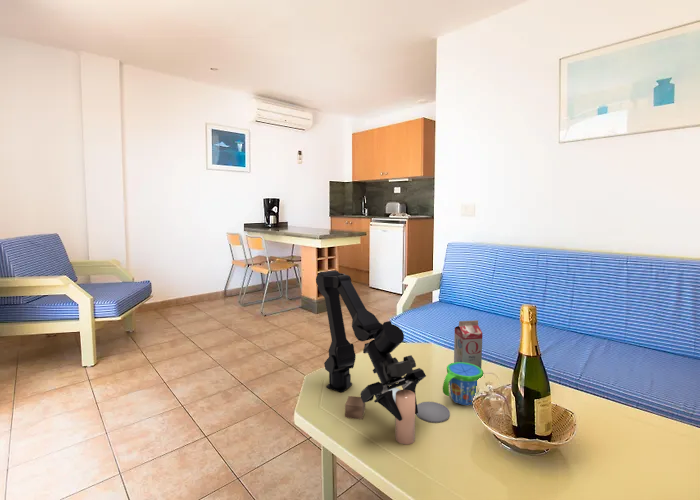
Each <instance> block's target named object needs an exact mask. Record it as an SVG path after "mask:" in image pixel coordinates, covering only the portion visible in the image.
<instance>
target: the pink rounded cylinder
mask: <svg viewBox="0 0 700 500" xmlns="http://www.w3.org/2000/svg"><path fill="white" fill-rule="evenodd" d="M415 393H416V392H415ZM415 393H414V392H412V391H410V390H403V389H400V390H399V391H397V392H396V405H397V407H398V409H399V412H400V414H401V417H402V420H401V421H399V420H398V419H397V418H396V417H395V431H394V432H395V436H394V437H395V441H396V442H398V443H399V444H401V445H411V444H413V443H414V442H415V441H416V414H415Z"/></svg>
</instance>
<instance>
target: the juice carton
mask: <svg viewBox="0 0 700 500" xmlns="http://www.w3.org/2000/svg"><path fill="white" fill-rule="evenodd" d="M453 334H454V341H453V363H454V362H465V363H470V364H473V365H476V366H478V367H479V368H481V369H482V364H483V363H482V360H483V359H482V358H483V357H482V356H483V331H482V329H481V327H480V326H479V320H476V319H474V320H459V321H458V326H455V327H454V333H453Z"/></svg>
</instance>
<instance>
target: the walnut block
mask: <svg viewBox="0 0 700 500" xmlns="http://www.w3.org/2000/svg"><path fill="white" fill-rule="evenodd" d="M344 407H345V408H344V418H345V417H347V418H346V419H353V420H363V418H364V416H365V412H366V403H363V401H362V399H361V396H354V395H348V396H347V399H346V402H345V404H344ZM363 415H364V416H363Z"/></svg>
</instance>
